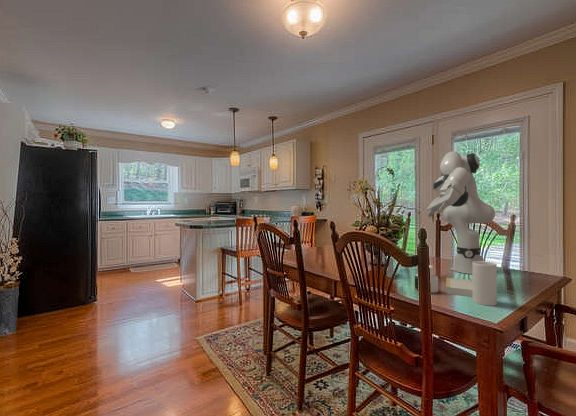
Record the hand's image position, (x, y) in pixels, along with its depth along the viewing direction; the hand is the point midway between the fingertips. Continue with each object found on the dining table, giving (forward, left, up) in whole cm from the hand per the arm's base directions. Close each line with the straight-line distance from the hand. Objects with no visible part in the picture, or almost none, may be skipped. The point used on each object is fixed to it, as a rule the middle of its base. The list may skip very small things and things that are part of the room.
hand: (434, 214), depth 147 cm
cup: (+18, +19, -35) cm, 44 cm away
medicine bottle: (+11, -3, -35) cm, 37 cm away
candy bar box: (-10, -24, -35) cm, 44 cm away
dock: (+3, +11, -35) cm, 37 cm away
